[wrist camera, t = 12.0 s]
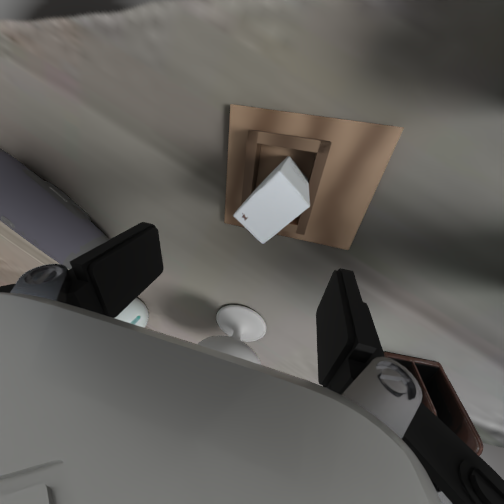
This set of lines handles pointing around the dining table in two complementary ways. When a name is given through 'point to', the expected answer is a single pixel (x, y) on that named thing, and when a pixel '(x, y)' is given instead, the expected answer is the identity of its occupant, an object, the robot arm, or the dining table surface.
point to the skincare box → (275, 201)
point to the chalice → (237, 332)
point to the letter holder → (441, 398)
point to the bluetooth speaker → (44, 214)
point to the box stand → (310, 167)
